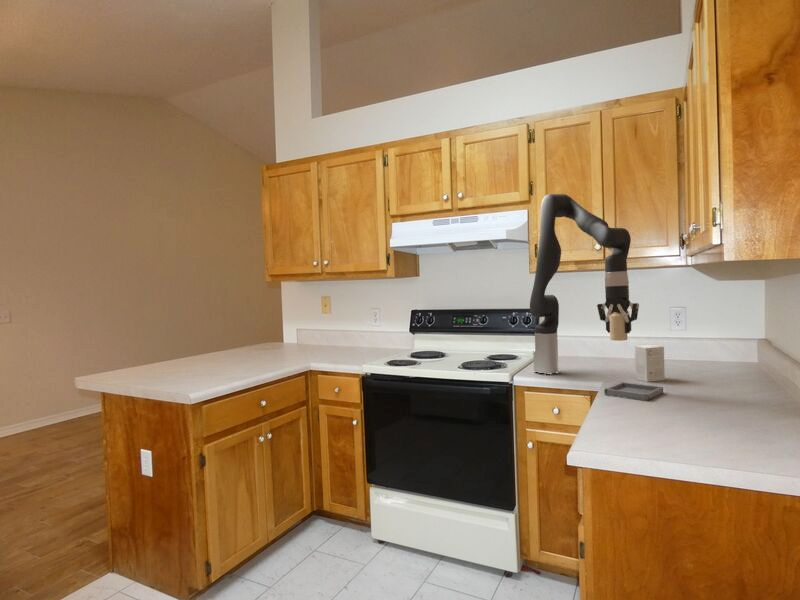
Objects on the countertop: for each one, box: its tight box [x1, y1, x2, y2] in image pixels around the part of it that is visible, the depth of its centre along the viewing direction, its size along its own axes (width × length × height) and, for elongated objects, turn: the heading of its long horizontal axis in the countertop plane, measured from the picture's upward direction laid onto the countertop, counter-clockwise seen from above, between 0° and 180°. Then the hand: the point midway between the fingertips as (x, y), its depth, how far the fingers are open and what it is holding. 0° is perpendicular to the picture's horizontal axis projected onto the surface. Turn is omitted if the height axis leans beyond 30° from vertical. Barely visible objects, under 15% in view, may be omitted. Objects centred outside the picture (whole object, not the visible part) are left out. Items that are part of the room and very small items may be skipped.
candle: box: [609, 312, 628, 342], centre depth 171 cm, size 6×6×10 cm
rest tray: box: [603, 381, 664, 402], centre depth 166 cm, size 14×14×2 cm
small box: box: [634, 344, 666, 383], centre depth 187 cm, size 8×6×13 cm
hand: (618, 332), depth 171 cm, fingers closed on candle, 5 cm apart
